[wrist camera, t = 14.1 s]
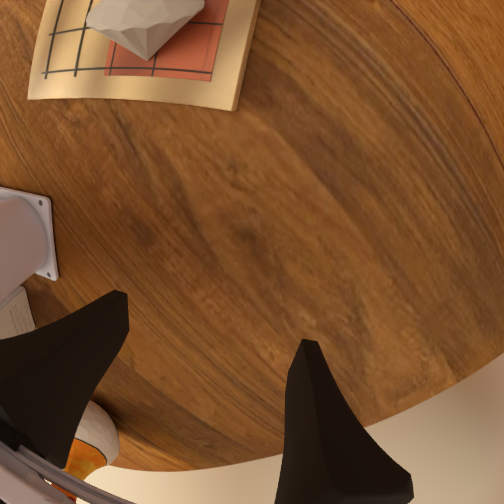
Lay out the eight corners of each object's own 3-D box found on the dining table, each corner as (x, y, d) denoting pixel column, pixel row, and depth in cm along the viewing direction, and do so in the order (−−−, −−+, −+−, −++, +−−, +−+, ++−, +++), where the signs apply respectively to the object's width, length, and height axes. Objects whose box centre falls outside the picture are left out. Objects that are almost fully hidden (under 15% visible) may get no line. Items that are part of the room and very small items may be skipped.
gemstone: (77, 92, 13) (59, 16, 8) (120, 38, 15) (116, -24, 10) (185, 95, 13) (188, 6, 9) (209, 41, 16) (217, -26, 11)
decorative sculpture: (51, 354, 30) (-58, 531, 3) (101, 370, 29) (-6, 583, 2) (99, 435, 39) (39, 571, 12) (141, 450, 38) (86, 598, 11)
